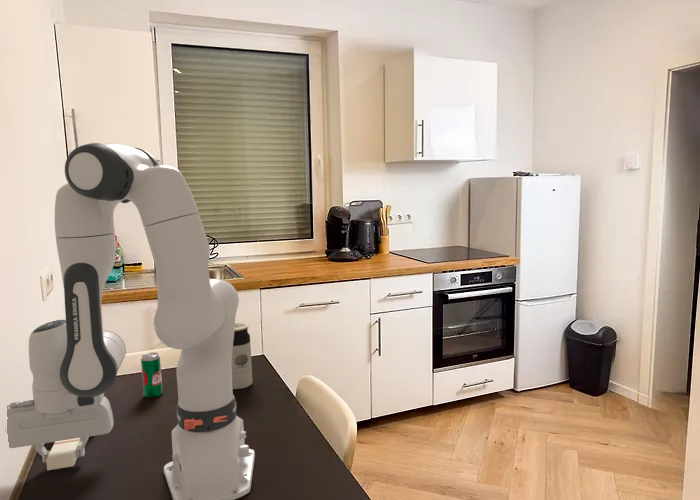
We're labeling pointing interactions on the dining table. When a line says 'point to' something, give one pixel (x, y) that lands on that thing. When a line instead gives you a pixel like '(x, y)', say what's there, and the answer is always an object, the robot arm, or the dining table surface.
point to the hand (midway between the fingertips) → (64, 458)
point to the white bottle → (241, 357)
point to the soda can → (151, 375)
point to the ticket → (63, 454)
